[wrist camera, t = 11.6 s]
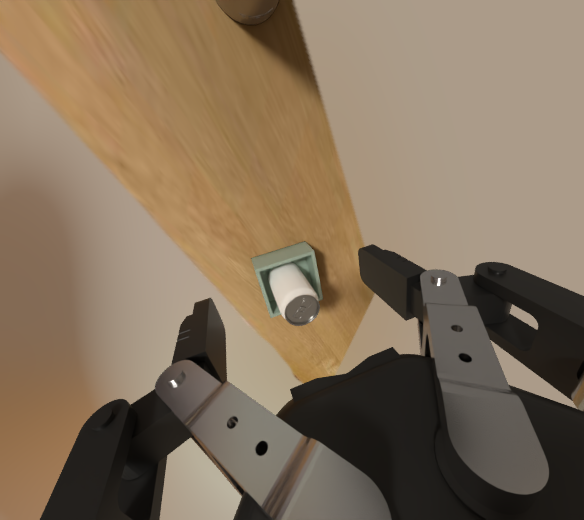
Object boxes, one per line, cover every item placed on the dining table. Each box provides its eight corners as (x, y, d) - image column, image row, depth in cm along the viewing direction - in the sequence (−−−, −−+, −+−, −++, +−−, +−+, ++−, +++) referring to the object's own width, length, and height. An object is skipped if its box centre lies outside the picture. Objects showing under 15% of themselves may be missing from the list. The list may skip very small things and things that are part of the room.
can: (305, 267, 47) (329, 300, 36) (289, 293, 48) (308, 332, 38) (277, 255, 44) (295, 286, 33) (261, 283, 45) (274, 322, 35)
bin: (251, 258, 43) (254, 269, 39) (304, 241, 45) (314, 250, 41) (266, 303, 48) (270, 318, 44) (314, 286, 50) (323, 299, 46)
